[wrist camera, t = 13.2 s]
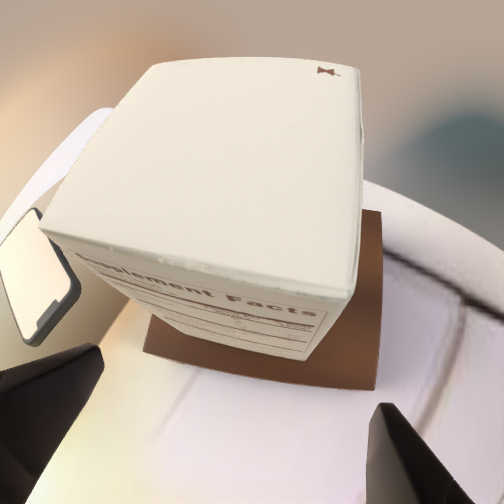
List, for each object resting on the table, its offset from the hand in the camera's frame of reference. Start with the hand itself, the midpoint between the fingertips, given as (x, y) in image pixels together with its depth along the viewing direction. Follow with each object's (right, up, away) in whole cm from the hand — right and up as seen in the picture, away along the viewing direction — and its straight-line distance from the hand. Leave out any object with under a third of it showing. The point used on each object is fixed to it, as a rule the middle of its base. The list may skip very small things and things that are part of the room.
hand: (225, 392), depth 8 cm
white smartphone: (-23, +2, +17) cm, 29 cm away
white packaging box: (+1, +1, +10) cm, 10 cm away
